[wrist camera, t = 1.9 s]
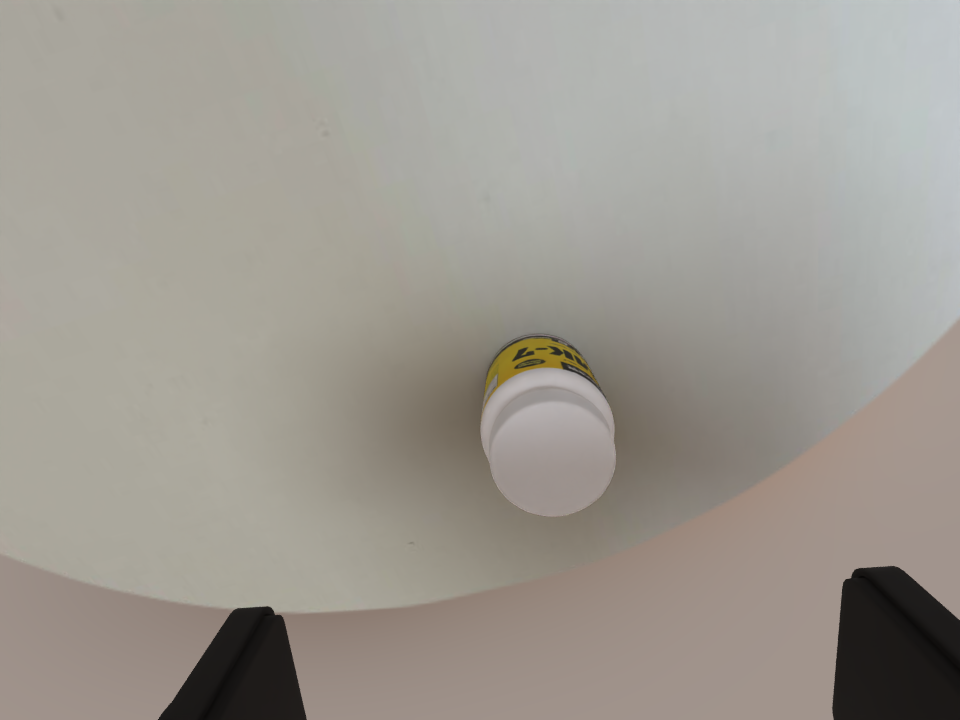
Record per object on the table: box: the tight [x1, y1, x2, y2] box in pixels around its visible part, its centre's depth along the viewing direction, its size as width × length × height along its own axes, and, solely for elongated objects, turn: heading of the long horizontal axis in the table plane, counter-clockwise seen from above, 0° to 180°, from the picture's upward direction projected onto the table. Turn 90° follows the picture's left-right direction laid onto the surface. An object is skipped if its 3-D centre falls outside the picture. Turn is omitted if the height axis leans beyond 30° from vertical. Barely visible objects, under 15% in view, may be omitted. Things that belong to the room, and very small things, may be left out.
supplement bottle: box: [480, 334, 616, 517], centre depth 21 cm, size 5×5×8 cm
